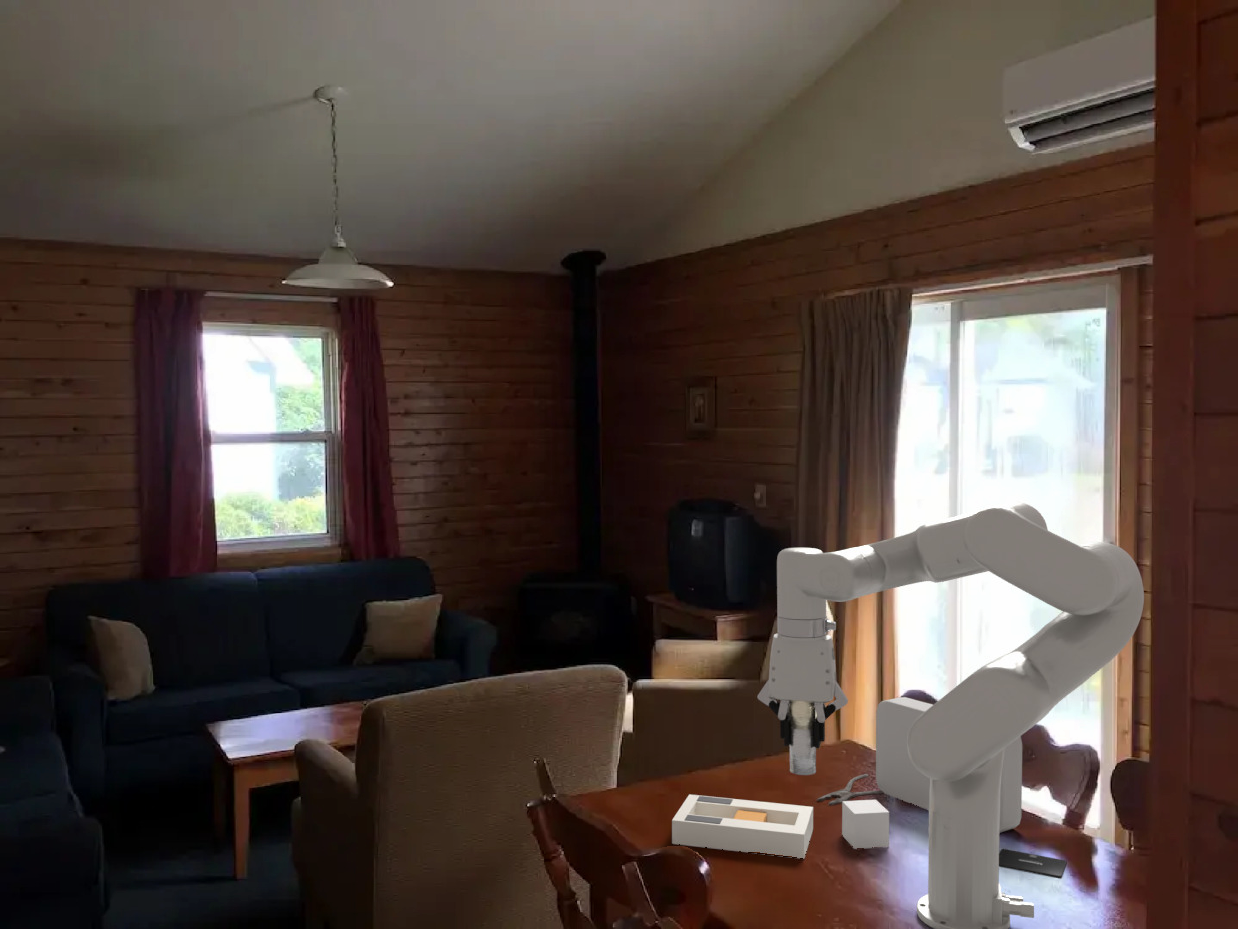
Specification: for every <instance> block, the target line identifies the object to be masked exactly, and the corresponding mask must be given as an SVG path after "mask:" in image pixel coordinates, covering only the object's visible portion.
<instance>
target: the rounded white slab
mask: <svg viewBox="0 0 1238 929" xmlns="http://www.w3.org/2000/svg"><path fill="white" fill-rule="evenodd" d="M933 705H934V704H933V703H929V702H925V701H921V700H917V699H914V698H909V697H906V696H903V697H896V698H890V699H886V700H882V701H880V703H878V704H877V709H876V716H875V717H876V718H875V720H876V721H875V722H876V723H875V724H876V725H875V726H876V728H875V730H876V731H875V734H876V735H875V780H876V785H877V786H878V788H879V791H883V792H884V794H885V795H887V796H890V797H893V798H894V797H895V799H897V798H898V800H900V801H902V800H903V801H902V802H906V803H908V804H910V803H912V804H911V805H913V804H914V806H916V805H917V806H916V807H918V806H919V808H921V809H924V810H926V809H928V810H927V811H929V791H930V778H928V777H926V776H925V775H923V774H922V773H921V772H919V771H918V770H917V768H916V767H915V766H914V765H913V763H912V761H911V759H910V757H909V754H908V749H907V738H908V733H909V730H910V728H911V726H912V724H913V723H914V721H915V720H916V719H917V718H918V717H919V716H920V715H921V714H923V713H924V712H925V711H926V710H928V709H929V708H930V707H931V706H933ZM1022 780H1023V742H1022V735H1021V736H1020V737H1018V738H1017V739H1016V740H1014V741H1013V742H1012V743H1010V744H1009V745H1008V746H1006V747H1005V750H1004V758H1003V765H1002V774H1001V788H1000V819H999V834H1000V833H1003V832H1006V831H1010V830H1012V829H1016V828H1017V826H1019V825H1020V824H1021V819H1022V801H1023V800H1022V798H1023V796H1022V795H1023V794H1022V793H1023V787H1022V786H1023V781H1022Z"/></svg>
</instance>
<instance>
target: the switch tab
mask: <svg viewBox="0 0 1238 929" xmlns="http://www.w3.org/2000/svg"><path fill="white" fill-rule="evenodd" d="M734 819H739V820H748V821H758V822H767V813H763V812H753V811H743V810H738V811H737V813H736V815H735V817H734Z"/></svg>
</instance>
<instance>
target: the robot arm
mask: <svg viewBox="0 0 1238 929" xmlns="http://www.w3.org/2000/svg"><path fill="white" fill-rule="evenodd" d="M987 572H989V573H991V574H993V575H995V576H997V577H999V579H1001V580H1003V581H1005V582H1007V583H1008V584H1011V585H1012V586H1014V587H1016V588H1018V589H1020V590H1022V591H1023V592H1024V593H1027V594H1028V595H1031V596H1033V597H1034V598H1036V599H1038V600H1039V601H1041V602H1043V603H1045V604H1047V605H1049V606H1051V607H1053V608H1055V609H1057V610H1059V611H1061V613H1059V614H1058V615H1057V616H1056V617H1054V618H1053V619H1052V620H1050V621H1049V622H1048V623H1046V624H1045V625H1044V626H1043V627H1042V628H1041V629H1039V631H1037V633H1035V634H1033V635H1032V636H1031V637H1030V638H1029V639H1027V640H1026V641H1025V642H1023V643H1022V644H1021V645H1019V646H1018V647H1017V648H1015V649H1014V650H1012V651H1010V652H1009V653H1007V654H1004V655H1002V656H1000V657H997V658H995V659H994V660H992V661H990V662H988V663H986V664H985V665H983V666H981V667H979V668H978V669H976V670H975V671H974V672H973V673H972V674H970V675H969V676H967V677H966V678H965V679H964V680H962V681H961V682H960V683H959V684H958V685H957V686H955V687H953V688H952V689H951V690H950V691H949V692H947V693H946V694H945V695H944V696H943V697H941V698H940V699H939V700H937V701H936V702H935V703H933V704H932V705H933V706H931V707H930V708H929V709H928V710H926V711H925V712H924V713H923V714H921V715H920V716H919V717H918V718H917V719H916V720H915V721H914V723H913V724H912V726H911V728H910V730H909V733H908V738H907V749H908V754H909V757H910V759H911V761H912V763H913V765H914V766H915V767H916V768H917V770H918V771H919V772H921V773H922V774H923V775H925V776H926V777H928V778H930V791H929V810H928V858H927V859H928V861H927V862H928V869H927V872H928V873H927V874H928V879H927V880H928V881H927V883H928V886H927V894H925V895H924V896H922V897H920V898H919V900H917V903H916V913H917V916H918V918H919V919H920V920H921V921H922V922H923V923H924V924H926V925H927V926H928V927H930V928H931V929H1009V928H1010V925H1011V915H1012V916H1018V917H1019V916H1020V917H1021V918H1030V919H1034V918H1035V906H1034V903H1033V902H1027V901H1026V902H1024V896H1020V895H1006V892H1002V889H1001V883H1000V882H999V880H1000V866H999V853H1000V833H999V819H1000V788H1001V774H1002V765H1003V758H1004V750H1005V747H1006V746H1008V745H1009V744H1010V743H1012V742H1013V741H1014V740H1016V739H1017V738H1018V737H1020V736H1021V737H1022V736H1023V735H1024V734H1026V732H1028V731H1029V730H1030V729H1032V728H1033V727H1035V726H1036V725H1037V724H1038V723H1039V722H1041V721H1042V720H1043V719H1044V718H1045V717H1046V716H1047V715H1048V714H1049V713H1050V712H1051V711H1052V710H1053V708H1054V707H1055V706H1057V705H1058V704H1059V703H1060V702H1061V701H1063V699H1065V698H1066V697H1068V695H1070V694H1072V692H1074V691H1075V690H1077V688H1080V687H1081V686H1082V685H1083V684H1084V683H1086V682H1087V681H1088V680H1089V679H1091V677H1092V676H1093V675H1095V674H1096V673H1098V672H1099V671H1100V670H1101V669H1102V668H1104V667H1105V666H1106V665H1107V664H1108V663H1110V662H1111V661H1112V660H1113V659H1114V658H1115V657H1117V656H1118V654H1119V653H1121V651H1122V650H1123V649H1125V647H1126V646H1127V644H1128V643H1129V642H1130V640H1131V639H1132V638H1133V636H1134V634H1135V632H1136V630H1137V628H1138V626H1139V623H1140V620H1141V619H1142V614H1143V608H1144V603H1145V602H1144V601H1145V592H1144V585H1143V580H1142V579H1143V578H1142V575H1141V573H1140V570H1139V567H1138V566H1137V564H1136V561H1135V560H1134V559H1133V557H1132V556H1131V555H1130V554H1129V553H1128V552H1127V551H1126V550H1124V549H1123V548H1122V547H1120V546H1118V545H1116V544H1113V543H1109V542H1103V541H1094V542H1093V541H1092V542H1088V543H1084V544H1080V545H1078V544H1077V543H1075V542H1072V541H1070V540H1068V539H1066V538H1064V537H1062V536H1060V535H1058V534H1055V533H1054V532H1052V531H1050V530H1049V529H1048V526H1047V522H1046V520H1045V518H1044V516H1043V515H1042V514H1041V512H1040V511H1038V509H1036V508H1035V507H1034V506H1032V505H1030V504H1027V503H1024V502H1020V501H1019V502H1018V501H1011V502H1005V503H1000V504H999V503H998V504H994V505H989V506H987V507H984V508H982V509H978V510H975V511H971V512H967V513H964V514H960V515H956V516H953V517H952V516H951V517H948V518H945V519H941V520H936V521H933V522H930V523H926V524H924V525H921V526H919V527H918V528H917V529H915V530H914V531H912V532H910V533H907V534H906V533H905V534H904V535H900V536H897V537H891V538H889V539H885V540H881V541H877V542H872V543H868V544H865V545H861V546H855V547H849V548H845V549H841V550H837V551H831V552H823V551H822V550H821V549H818V548H815V547H813V548H812V547H788V548H784V549H781V551H779V552H778V554H777V559H776V587H777V588H776V595H777V596H776V598H777V599H776V600H777V601H776V602H777V604H776V606H777V608H776V609H777V612H776V613H777V619H776V620H777V633H775V634H773V638H772V641H771V642H772V643H771V648H770V659H769V670H768V671H769V672H768V679H767V681H766V682H765V684H764V685H763V687H762V688H761V690H760V691H759V693H758V694H757V700H758V701H760V702H761V703H763V704H765V705H766V706H768V708H769V709H770V710H771V711H772V712H773V713H774V714H775V715H776V716H777V718H778V720H780V727H779V729H780V730H779V731H780V732H779V734H780V736H779V737H780V739H782V740H783V742H784V744H783V746H784V747H785V746H786V747H788V746H790V712H789V701H799V700H800V701H807V702H813V703H814V705H815V710H816V721H815V722H814V747H816V749H820V747H821V743H823V742H825V740H826V731H825V730H826V727H825V726H826V720H827V719H828V718H829V717H831V715H833V713H835V712H836V711H838V710H840V709H841V708H843V707H845V706H847V704H848V702H849V699H848V697H847V695H846V694H845V693H844V691H843V689H842V688H841V687H840V685H839V683H838V682H837V672H836V671H837V669H836V666H837V665H836V657H835V656H836V654H835V648H834V642H833V638H832V636H831V635H829V634H827V633H829V632H831V631H836V630H837V622H836V621H832V620H829V618H828V616H827V601H830V602H839V603H842V602H849V601H852V600H855V599H859V598H861V597H864V596H867V595H868V596H869V595H872V594H875V593H879V592H880V593H881V592H883V591H886V590H891V589H895V588H900V587H904V586H908V585H912V584H918V583H923V582H931V583H937V584H938V583H943V582H949V581H953V580H956V579H961V578H966V577H969V576H973V575H978V574H982V573H987ZM834 697H835V700H834ZM833 700H834V701H833ZM779 701H780V702H779ZM829 702H830V703H829ZM826 703H828V704H827V705H826Z"/></svg>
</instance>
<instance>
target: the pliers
mask: <svg viewBox="0 0 1238 929" xmlns="http://www.w3.org/2000/svg"><path fill="white" fill-rule="evenodd" d="M867 777H869V774H868V773H865V774H860V775H857V776H855V777H853V778H851V779H849V781H848V782H847V784H846V786H845V787H844V788H842V789H839V790H836V791H833V792H830V793H827V794H825V795H823V796H820V797H818V798H817V799H816V802H817V801H819V802H823V801H826V800H831V801H829V802H828V806H830V805H831V806H835V805H839V804H838V803H840V804H842V801H850V800H852V799H853V798H852V797H854V798H857V797H860V796H869V795H871V794H873V795H882V794H881V793H884V792H883V791H881V790H868V791H858V792H857V791H856V792H854V791H853V792H852V787H853V786H854V783H855V782H856V781H858V780H860V779H863V778H867ZM857 779H858V780H857ZM884 794H885V793H884ZM836 797H837V798H836ZM839 797H840V798H839ZM832 798H835V799H833V800H832ZM825 799H826V800H825ZM834 804H835V805H834Z"/></svg>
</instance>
